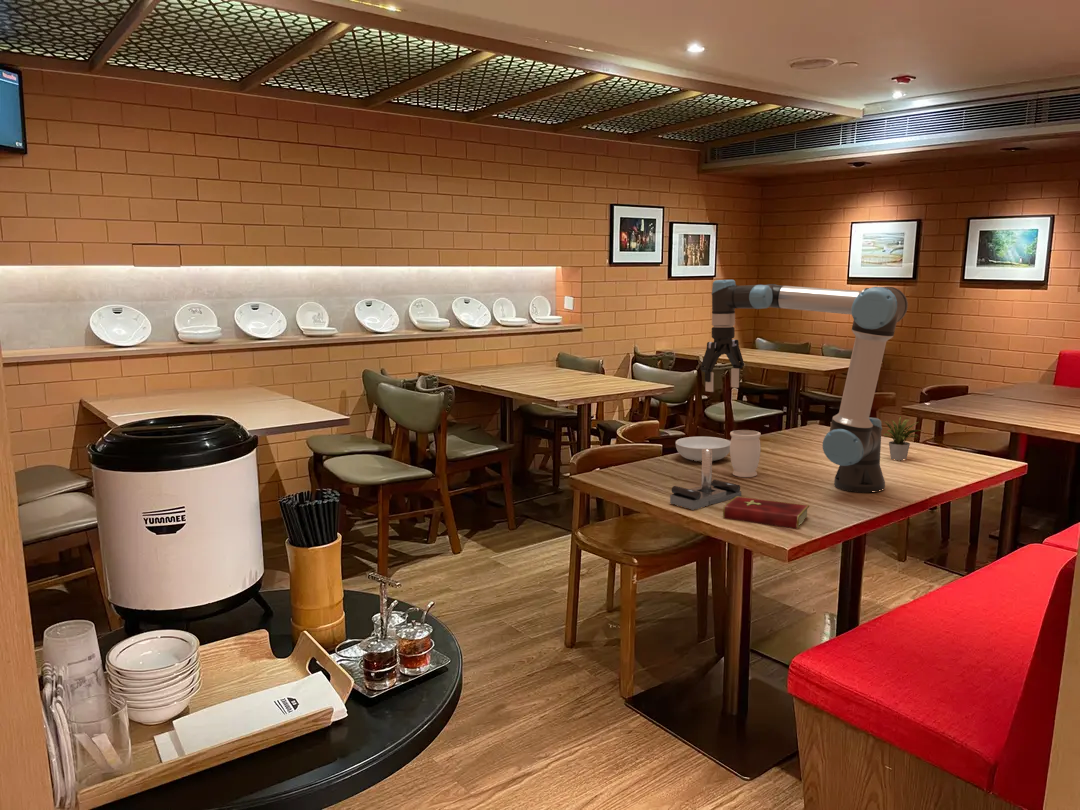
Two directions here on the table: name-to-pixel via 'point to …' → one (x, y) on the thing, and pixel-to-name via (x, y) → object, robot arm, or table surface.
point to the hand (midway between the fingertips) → (722, 389)
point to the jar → (745, 452)
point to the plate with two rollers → (704, 495)
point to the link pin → (706, 470)
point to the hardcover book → (765, 511)
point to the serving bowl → (702, 447)
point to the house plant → (899, 439)
